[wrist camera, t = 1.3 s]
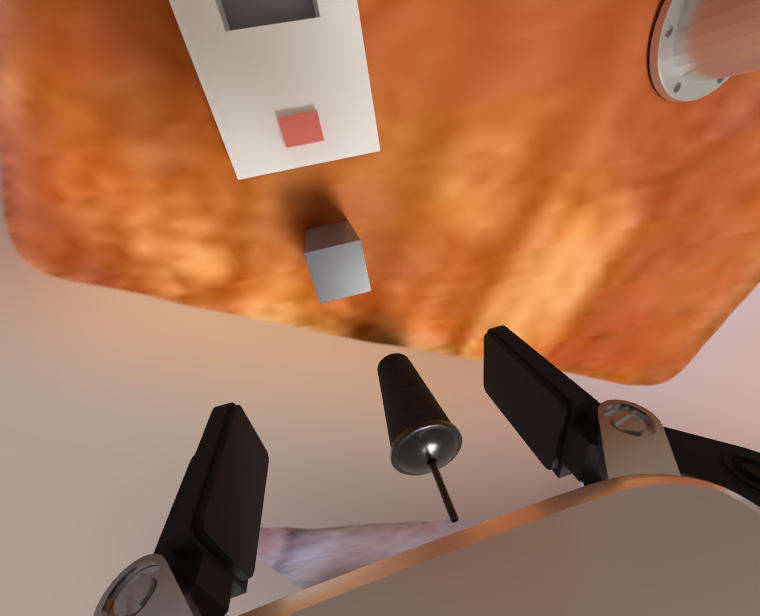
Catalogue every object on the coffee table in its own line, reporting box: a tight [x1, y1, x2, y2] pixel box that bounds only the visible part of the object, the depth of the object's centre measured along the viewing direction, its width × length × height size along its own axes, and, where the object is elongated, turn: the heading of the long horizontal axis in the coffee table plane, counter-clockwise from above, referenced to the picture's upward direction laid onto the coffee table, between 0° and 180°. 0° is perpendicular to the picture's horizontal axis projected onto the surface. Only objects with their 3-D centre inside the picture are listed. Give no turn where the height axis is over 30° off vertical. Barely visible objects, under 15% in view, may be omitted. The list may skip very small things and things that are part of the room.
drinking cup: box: [378, 353, 462, 523], centre depth 32 cm, size 8×8×20 cm
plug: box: [304, 220, 371, 304], centre depth 27 cm, size 4×4×9 cm
